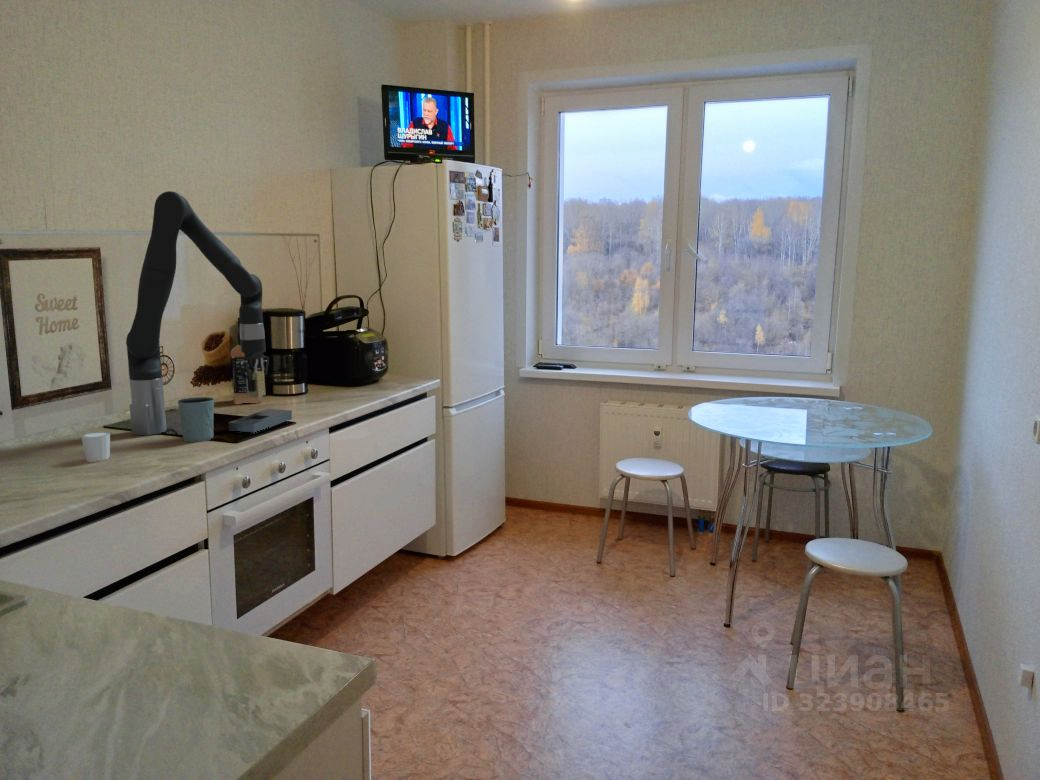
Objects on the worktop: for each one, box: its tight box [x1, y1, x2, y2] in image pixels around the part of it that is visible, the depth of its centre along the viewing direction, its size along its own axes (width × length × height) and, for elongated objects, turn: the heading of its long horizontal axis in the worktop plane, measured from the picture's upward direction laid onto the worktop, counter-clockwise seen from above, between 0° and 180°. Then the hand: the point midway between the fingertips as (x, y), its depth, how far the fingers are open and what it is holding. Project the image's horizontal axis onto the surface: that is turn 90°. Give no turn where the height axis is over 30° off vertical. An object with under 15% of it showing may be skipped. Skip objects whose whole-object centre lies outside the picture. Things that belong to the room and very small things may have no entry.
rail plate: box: [228, 408, 293, 434], centre depth 255 cm, size 22×9×3 cm, turn 165°
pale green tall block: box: [246, 369, 266, 397], centre depth 251 cm, size 4×4×8 cm
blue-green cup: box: [177, 396, 215, 443], centre depth 236 cm, size 10×10×12 cm
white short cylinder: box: [81, 431, 111, 463], centre depth 213 cm, size 7×7×7 cm
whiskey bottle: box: [230, 317, 263, 405], centre depth 292 cm, size 10×10×32 cm
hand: (256, 389), depth 251 cm, fingers closed on pale green tall block, 4 cm apart
